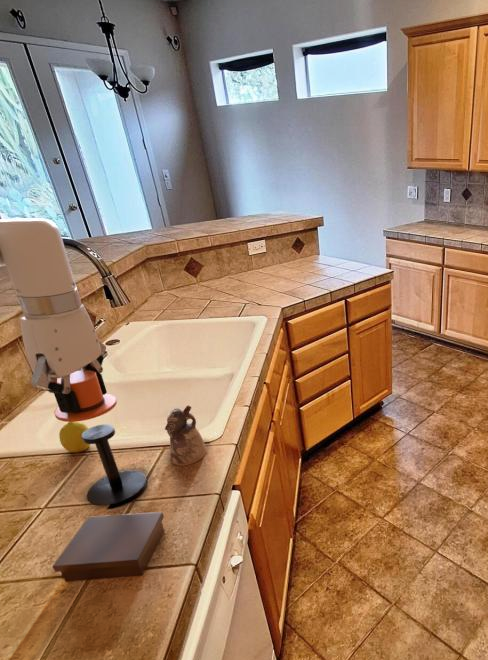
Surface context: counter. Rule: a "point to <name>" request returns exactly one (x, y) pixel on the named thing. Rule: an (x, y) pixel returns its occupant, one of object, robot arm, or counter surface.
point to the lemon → (73, 436)
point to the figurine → (184, 437)
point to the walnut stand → (111, 547)
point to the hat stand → (112, 473)
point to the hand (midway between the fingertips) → (84, 401)
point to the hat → (86, 397)
